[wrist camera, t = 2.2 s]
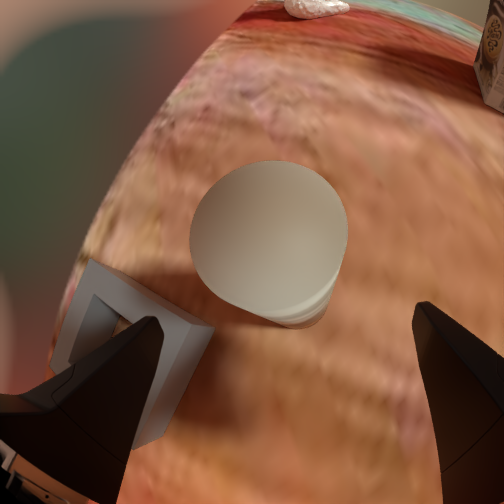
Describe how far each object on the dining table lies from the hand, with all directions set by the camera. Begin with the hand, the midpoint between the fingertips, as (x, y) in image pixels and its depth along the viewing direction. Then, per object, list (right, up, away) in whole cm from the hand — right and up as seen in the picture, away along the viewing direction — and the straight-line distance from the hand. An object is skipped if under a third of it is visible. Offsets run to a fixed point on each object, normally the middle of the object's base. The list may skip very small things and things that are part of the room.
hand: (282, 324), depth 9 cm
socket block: (-10, -6, +11) cm, 16 cm away
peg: (+2, -1, +10) cm, 10 cm away
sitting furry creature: (+8, +38, +21) cm, 45 cm away
